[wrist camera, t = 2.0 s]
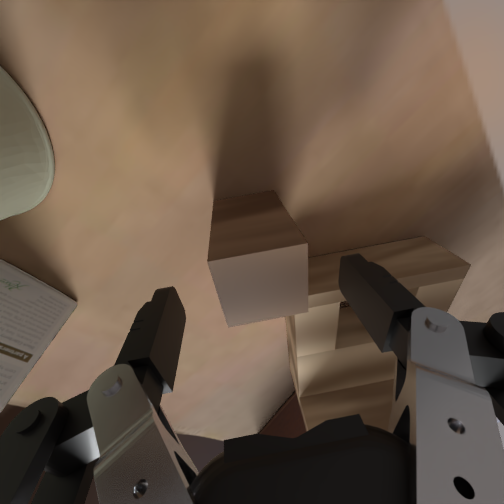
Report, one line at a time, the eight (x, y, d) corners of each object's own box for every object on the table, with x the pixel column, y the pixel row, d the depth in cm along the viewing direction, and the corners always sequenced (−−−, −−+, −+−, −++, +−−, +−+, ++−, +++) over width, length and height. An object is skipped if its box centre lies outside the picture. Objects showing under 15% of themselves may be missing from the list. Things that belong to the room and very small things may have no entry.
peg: (213, 200, 14) (207, 261, 9) (273, 190, 14) (307, 243, 9) (226, 251, 17) (228, 327, 11) (278, 241, 17) (308, 312, 11)
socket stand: (268, 265, 18) (489, 1006, 3) (436, 233, 18) (1399, 781, 3) (282, 377, 27) (353, 685, 13) (392, 355, 27) (586, 634, 13)
